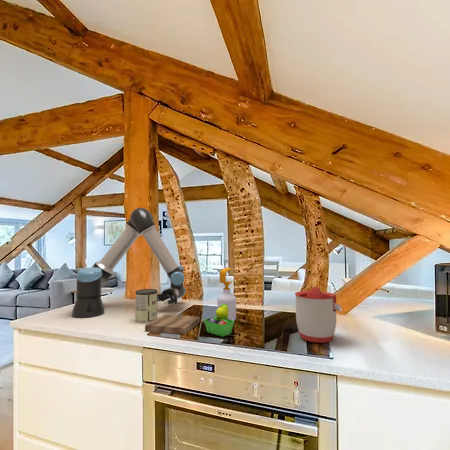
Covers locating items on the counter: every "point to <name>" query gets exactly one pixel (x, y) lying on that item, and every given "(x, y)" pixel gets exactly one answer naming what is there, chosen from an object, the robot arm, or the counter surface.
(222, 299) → the soap bottle
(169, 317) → the walnut trivet board
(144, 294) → the coffee can
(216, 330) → the fruit basket
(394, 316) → the counter surface
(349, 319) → the counter surface
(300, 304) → the citrus juicer
